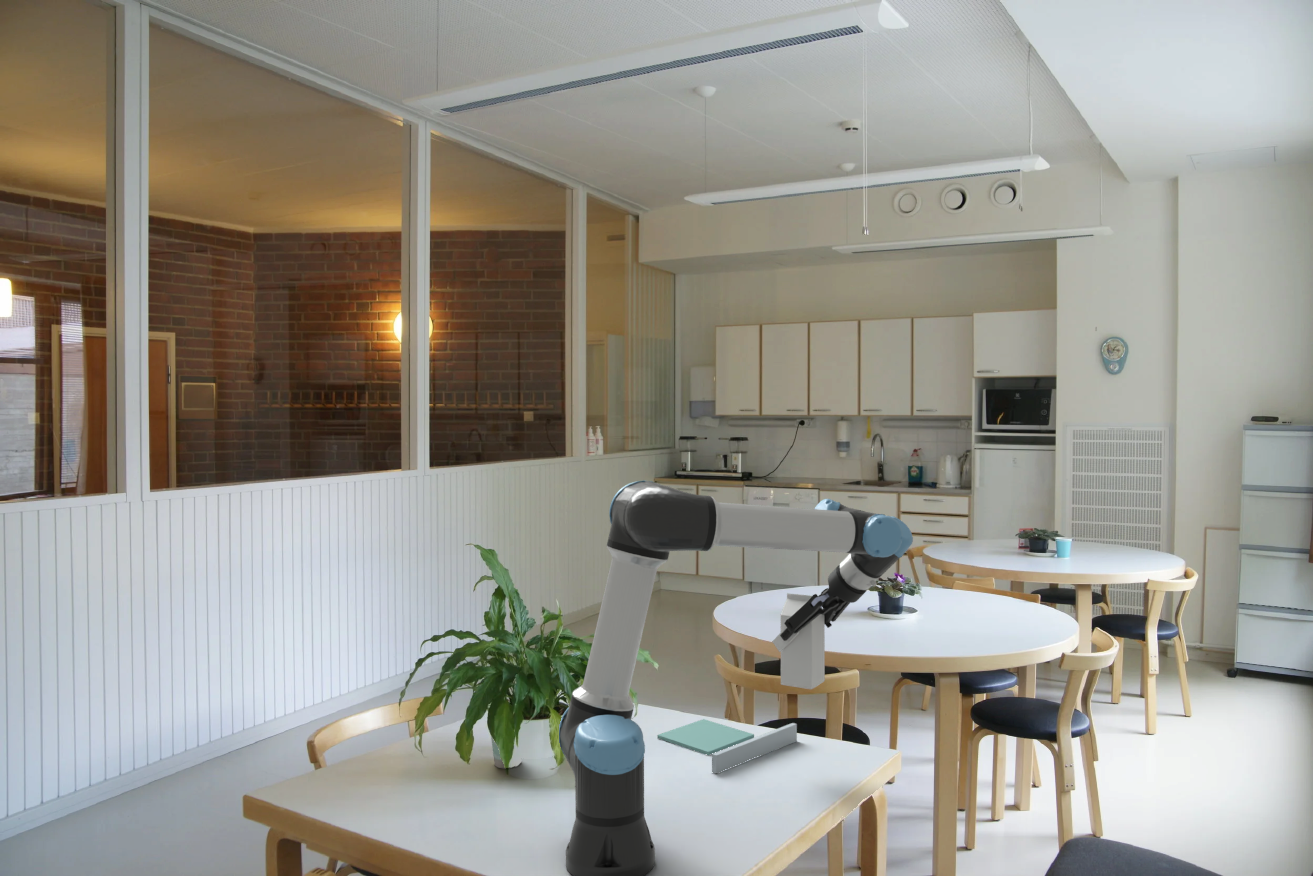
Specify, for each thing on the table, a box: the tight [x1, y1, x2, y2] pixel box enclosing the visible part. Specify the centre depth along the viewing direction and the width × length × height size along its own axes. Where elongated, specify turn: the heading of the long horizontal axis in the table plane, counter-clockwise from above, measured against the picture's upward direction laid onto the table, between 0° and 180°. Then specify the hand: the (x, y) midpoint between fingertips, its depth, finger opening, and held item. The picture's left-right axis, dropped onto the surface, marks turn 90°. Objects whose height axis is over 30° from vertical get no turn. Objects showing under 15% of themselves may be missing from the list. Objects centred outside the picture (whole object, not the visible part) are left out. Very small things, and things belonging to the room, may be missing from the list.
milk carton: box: [780, 592, 826, 690], centre depth 202 cm, size 7×7×19 cm
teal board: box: [657, 718, 755, 756], centre depth 222 cm, size 16×16×1 cm
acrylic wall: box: [711, 722, 798, 774], centre depth 210 cm, size 28×1×4 cm, turn 135°
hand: (790, 642), depth 204 cm, fingers closed on milk carton, 8 cm apart
